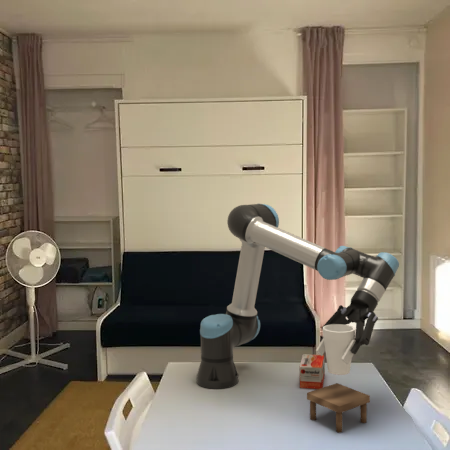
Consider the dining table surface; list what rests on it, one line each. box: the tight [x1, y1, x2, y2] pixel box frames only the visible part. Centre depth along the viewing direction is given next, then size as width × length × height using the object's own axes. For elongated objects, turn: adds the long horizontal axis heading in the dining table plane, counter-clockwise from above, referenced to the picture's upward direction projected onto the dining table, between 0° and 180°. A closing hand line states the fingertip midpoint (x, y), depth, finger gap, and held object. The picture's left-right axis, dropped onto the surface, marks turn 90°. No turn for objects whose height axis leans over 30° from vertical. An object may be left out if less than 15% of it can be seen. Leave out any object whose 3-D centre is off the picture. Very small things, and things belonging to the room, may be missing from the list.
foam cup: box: [322, 324, 356, 376], centre depth 160 cm, size 10×9×13 cm
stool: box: [306, 382, 371, 433], centre depth 161 cm, size 13×13×8 cm
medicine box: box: [299, 353, 326, 390], centre depth 194 cm, size 15×8×8 cm, turn 167°
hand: (331, 357), depth 158 cm, fingers closed on foam cup, 9 cm apart
